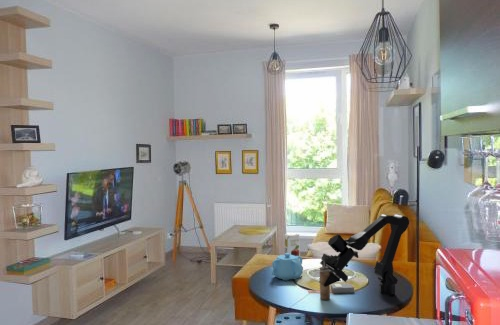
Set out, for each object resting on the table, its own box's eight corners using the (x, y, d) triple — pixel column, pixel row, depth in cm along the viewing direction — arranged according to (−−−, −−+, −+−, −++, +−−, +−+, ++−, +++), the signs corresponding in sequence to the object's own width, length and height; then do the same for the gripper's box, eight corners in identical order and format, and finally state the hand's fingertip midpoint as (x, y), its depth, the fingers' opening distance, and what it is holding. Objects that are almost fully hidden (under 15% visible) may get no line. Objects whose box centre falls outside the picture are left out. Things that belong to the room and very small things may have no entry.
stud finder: (350, 288, 196) (350, 282, 196) (354, 292, 190) (354, 286, 190) (330, 288, 195) (330, 283, 195) (333, 293, 189) (333, 287, 189)
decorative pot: (279, 272, 229) (279, 248, 229) (306, 275, 222) (305, 251, 222) (268, 280, 215) (268, 255, 214) (296, 283, 208) (296, 258, 207)
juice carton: (283, 263, 246) (282, 233, 246) (295, 261, 250) (294, 232, 249) (289, 266, 239) (289, 235, 239) (301, 264, 243) (301, 234, 242)
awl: (328, 296, 184) (327, 258, 184) (331, 299, 180) (330, 260, 179) (319, 296, 184) (318, 258, 184) (321, 300, 180) (320, 261, 179)
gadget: (319, 270, 232) (319, 264, 232) (345, 273, 226) (344, 267, 225) (308, 282, 211) (308, 275, 211) (335, 285, 205) (335, 278, 205)
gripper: (323, 243, 191) (302, 267, 189) (341, 252, 173) (318, 279, 171) (338, 257, 193) (318, 282, 191) (357, 268, 175) (335, 295, 173)
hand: (321, 284), depth 181 cm, fingers closed on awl, 4 cm apart
